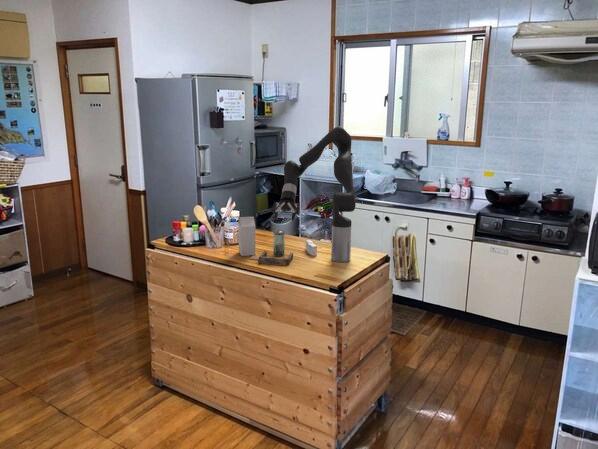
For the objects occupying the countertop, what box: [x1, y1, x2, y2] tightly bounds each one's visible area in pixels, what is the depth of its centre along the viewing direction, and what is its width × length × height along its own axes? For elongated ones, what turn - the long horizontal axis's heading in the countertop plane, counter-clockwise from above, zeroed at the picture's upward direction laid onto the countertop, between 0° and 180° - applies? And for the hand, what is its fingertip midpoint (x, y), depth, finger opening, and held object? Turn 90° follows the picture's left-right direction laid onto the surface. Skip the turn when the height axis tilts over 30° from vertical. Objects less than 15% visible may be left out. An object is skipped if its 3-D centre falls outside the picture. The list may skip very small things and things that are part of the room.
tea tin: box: [272, 229, 286, 258], centre depth 246 cm, size 6×6×12 cm
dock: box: [258, 250, 294, 266], centre depth 238 cm, size 14×10×3 cm
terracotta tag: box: [249, 255, 260, 261], centre depth 242 cm, size 5×5×1 cm
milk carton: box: [238, 216, 257, 257], centre depth 247 cm, size 7×7×19 cm
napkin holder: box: [305, 239, 318, 257], centre depth 253 cm, size 15×11×6 cm
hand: (284, 219), depth 255 cm, fingers open, 8 cm apart
